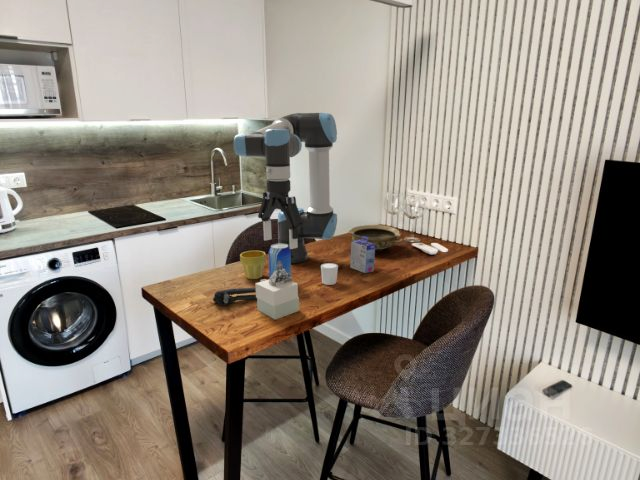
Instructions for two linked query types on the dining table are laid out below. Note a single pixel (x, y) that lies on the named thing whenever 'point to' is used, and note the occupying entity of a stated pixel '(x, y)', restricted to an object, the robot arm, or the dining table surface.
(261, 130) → the robot arm
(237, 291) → the can opener
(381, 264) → the dining table surface
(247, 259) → the plant pot
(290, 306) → the tower bottom block
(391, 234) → the ceramic bowl
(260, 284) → the tower top block
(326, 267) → the white gray-rimmed cylinder
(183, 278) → the dining table surface
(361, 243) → the ink cartridge box
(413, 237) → the dining table surface
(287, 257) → the beer can
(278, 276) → the house of cards
